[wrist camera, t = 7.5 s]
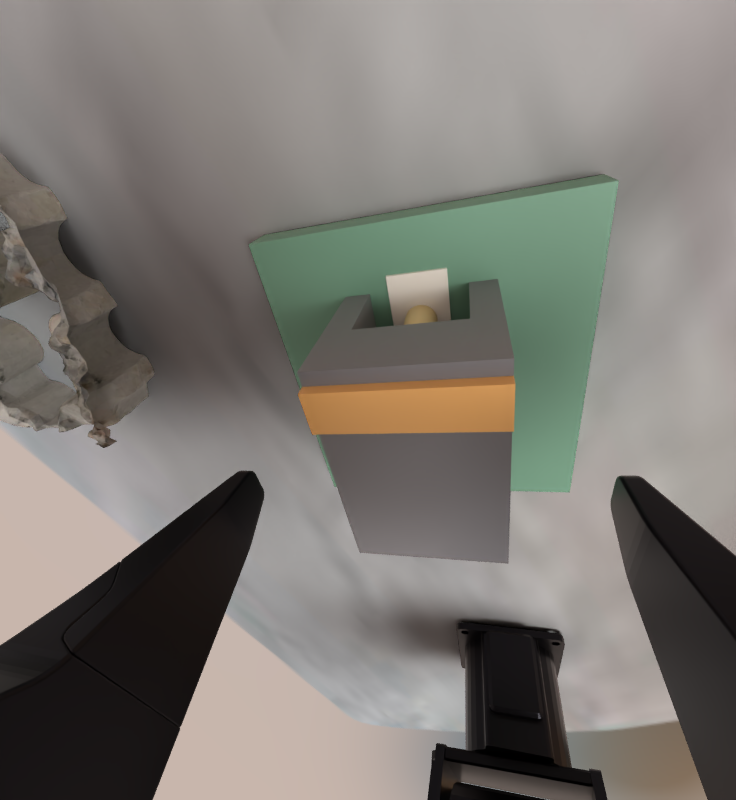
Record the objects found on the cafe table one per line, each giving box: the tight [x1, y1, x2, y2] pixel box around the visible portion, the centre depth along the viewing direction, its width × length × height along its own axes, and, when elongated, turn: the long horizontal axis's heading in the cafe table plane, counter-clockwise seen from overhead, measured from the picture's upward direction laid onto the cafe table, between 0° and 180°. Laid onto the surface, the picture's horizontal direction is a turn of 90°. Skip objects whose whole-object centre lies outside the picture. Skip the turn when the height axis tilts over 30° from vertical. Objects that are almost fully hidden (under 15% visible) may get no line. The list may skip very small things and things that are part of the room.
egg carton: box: [0, 153, 155, 448], centre depth 15 cm, size 11×8×4 cm
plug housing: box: [297, 279, 515, 563], centre depth 12 cm, size 7×5×5 cm, turn 12°
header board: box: [249, 174, 619, 492], centre depth 13 cm, size 11×10×3 cm
